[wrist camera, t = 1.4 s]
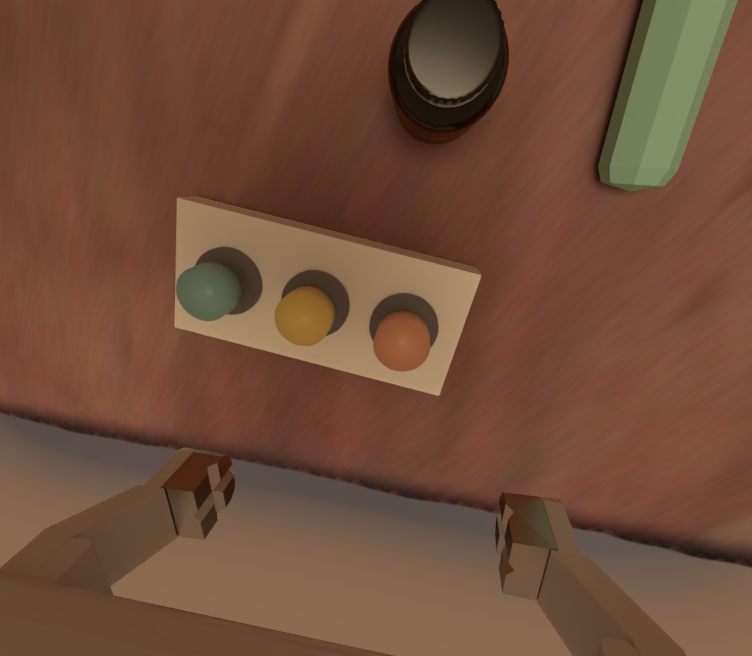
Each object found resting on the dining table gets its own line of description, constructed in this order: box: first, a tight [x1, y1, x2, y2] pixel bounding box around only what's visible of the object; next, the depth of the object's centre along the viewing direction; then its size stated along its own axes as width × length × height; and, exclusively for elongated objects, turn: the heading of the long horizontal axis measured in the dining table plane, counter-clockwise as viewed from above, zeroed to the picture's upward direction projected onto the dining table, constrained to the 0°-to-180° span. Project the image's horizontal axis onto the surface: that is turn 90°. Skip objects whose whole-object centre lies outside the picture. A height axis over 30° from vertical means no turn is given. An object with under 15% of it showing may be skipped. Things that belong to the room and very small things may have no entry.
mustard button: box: [274, 286, 335, 346], centre depth 30 cm, size 4×4×2 cm
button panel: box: [175, 196, 481, 396], centre depth 34 cm, size 26×12×4 cm, turn 77°
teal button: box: [176, 262, 241, 321], centre depth 30 cm, size 4×4×2 cm
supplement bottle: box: [388, 0, 509, 144], centre depth 23 cm, size 7×7×12 cm
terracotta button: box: [373, 311, 430, 372], centre depth 30 cm, size 4×4×2 cm
